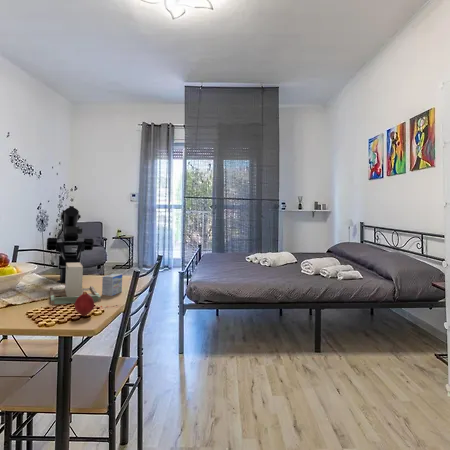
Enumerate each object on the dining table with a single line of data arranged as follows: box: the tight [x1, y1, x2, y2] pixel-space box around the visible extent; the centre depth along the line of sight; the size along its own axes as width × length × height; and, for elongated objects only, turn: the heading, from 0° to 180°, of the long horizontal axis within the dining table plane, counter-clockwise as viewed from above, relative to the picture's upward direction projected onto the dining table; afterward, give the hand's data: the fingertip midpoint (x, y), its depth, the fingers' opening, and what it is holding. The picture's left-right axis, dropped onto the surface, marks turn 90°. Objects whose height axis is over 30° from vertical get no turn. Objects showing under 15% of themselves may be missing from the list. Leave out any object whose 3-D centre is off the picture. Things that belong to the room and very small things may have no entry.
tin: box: [64, 262, 84, 297], centre depth 135 cm, size 12×5×11 cm, turn 28°
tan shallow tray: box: [49, 285, 102, 305], centre depth 132 cm, size 23×16×4 cm
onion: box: [74, 291, 95, 317], centre depth 112 cm, size 6×6×8 cm
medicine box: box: [101, 273, 123, 297], centre depth 139 cm, size 8×4×9 cm, turn 168°
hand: (71, 259), depth 150 cm, fingers open, 4 cm apart
